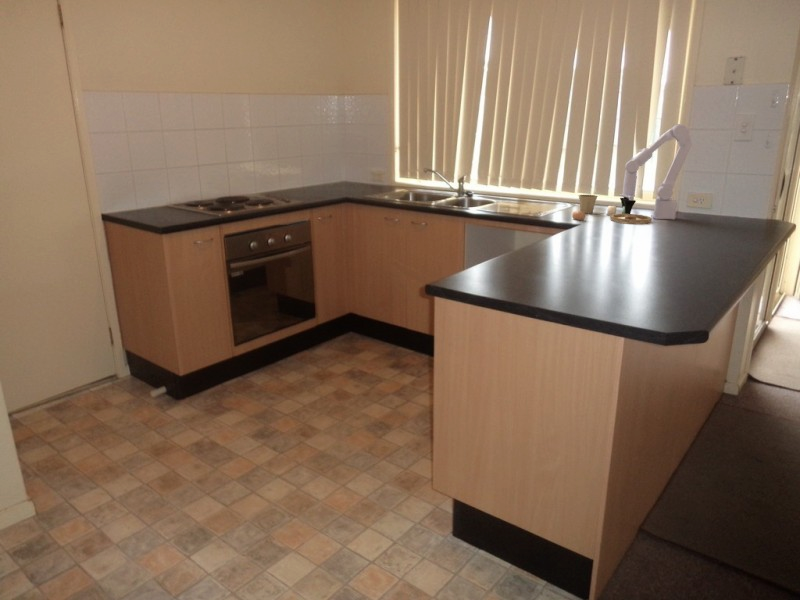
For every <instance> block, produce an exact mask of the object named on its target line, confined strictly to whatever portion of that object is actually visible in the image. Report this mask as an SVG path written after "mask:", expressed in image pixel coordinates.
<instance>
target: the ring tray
mask: <svg viewBox="0 0 800 600" xmlns="http://www.w3.org/2000/svg"><path fill="white" fill-rule="evenodd" d="M652 218H653V217H651V216H647V215H643V214H634V213H630V214H622V213H616V214H613V215H610V216H609V219H610V221H612V222H615V223H620V224H629V225H631V224H632V225H644V224H646V225H647V224H650V223H651V222H652Z"/></svg>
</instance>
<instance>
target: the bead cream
mask: <svg viewBox="0 0 800 600" xmlns="http://www.w3.org/2000/svg"><path fill="white" fill-rule="evenodd" d="M613 214H617V206H616V205H608V206H607V214H606V215H607V217H610V215H613Z"/></svg>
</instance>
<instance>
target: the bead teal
mask: <svg viewBox="0 0 800 600" xmlns="http://www.w3.org/2000/svg"><path fill="white" fill-rule="evenodd" d="M621 210H622V211H621V214H625V206H623V208H622V207H621ZM631 212H632V211H631ZM631 212H630V214H632V213H631Z"/></svg>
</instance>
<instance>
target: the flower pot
mask: <svg viewBox="0 0 800 600" xmlns="http://www.w3.org/2000/svg"><path fill="white" fill-rule="evenodd" d="M598 196H599V195H595V194H594V195H593V194H578V199H579V209H580V210H579V211H580V212H584V213H585V214H593V213H594V209H595V205H596V201H597V199H598Z"/></svg>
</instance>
